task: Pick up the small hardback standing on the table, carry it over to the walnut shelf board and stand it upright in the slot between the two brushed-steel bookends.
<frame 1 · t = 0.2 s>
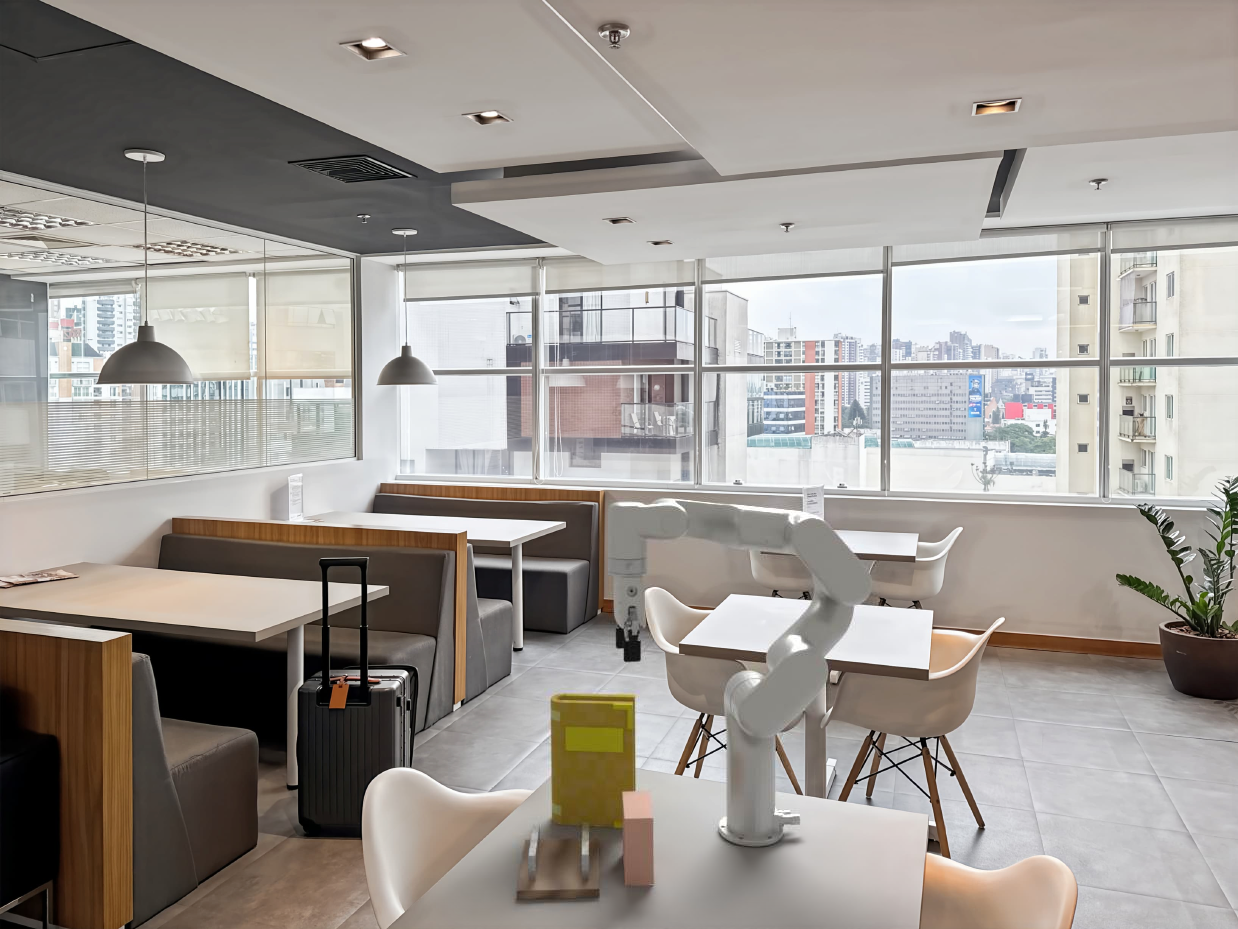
hand: (627, 654, 165), 36 cm above the table, tool pointing down, fingers open, 9 cm apart
bookends: (560, 850, 155), on the shelf board, point 4 cm above the table
small book: (637, 869, 155), on the table
shelf board: (560, 870, 155), on the table
book: (593, 820, 175), on the table
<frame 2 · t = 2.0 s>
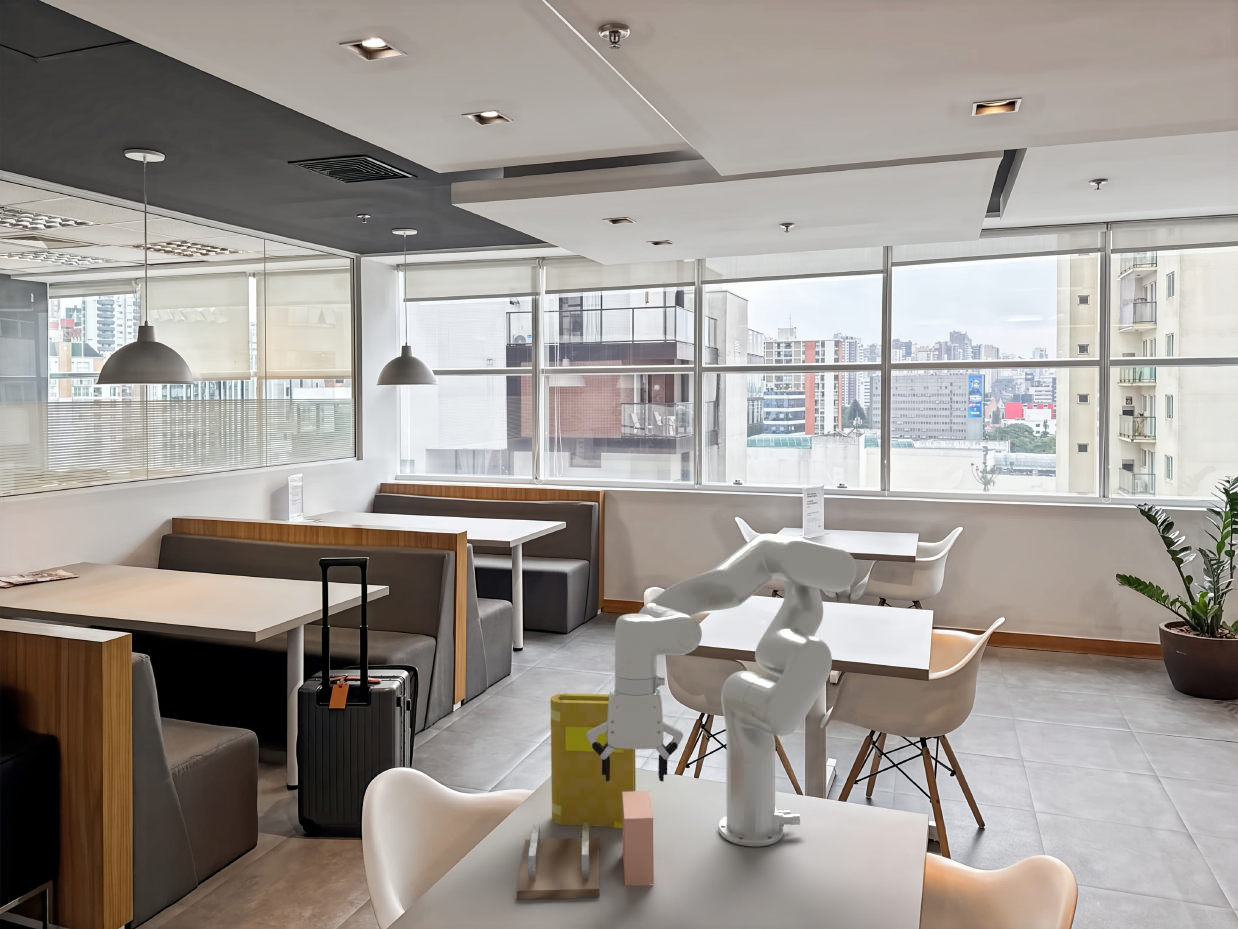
hand: (634, 778, 154), 17 cm above the table, tool pointing down, fingers open, 9 cm apart
nothing on the table moved.
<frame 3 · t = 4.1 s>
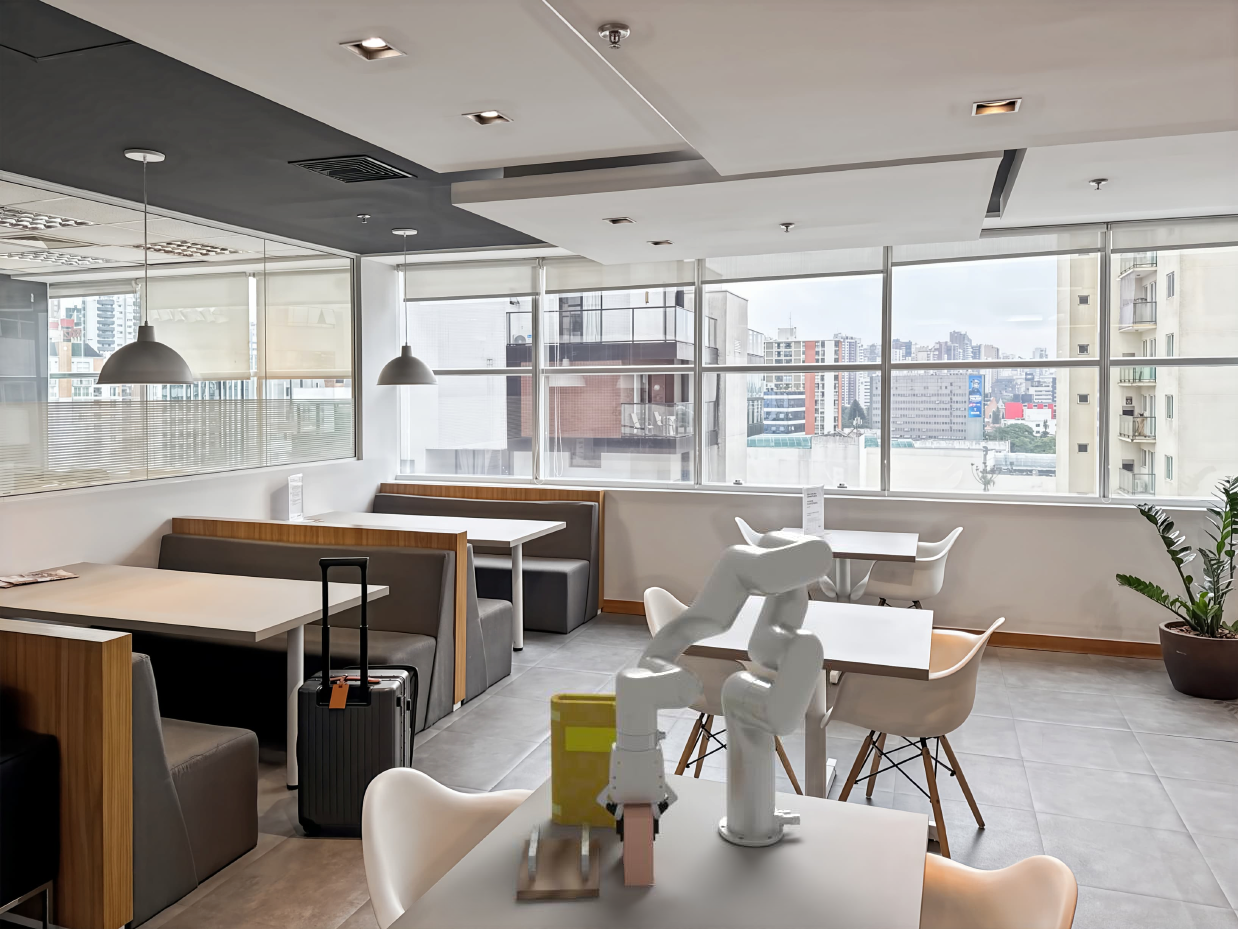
hand: (637, 836, 155), 6 cm above the table, tool pointing down, fingers closed on small book, 5 cm apart
small book: (637, 869, 155), on the table, touching gripper
everything else where it was.
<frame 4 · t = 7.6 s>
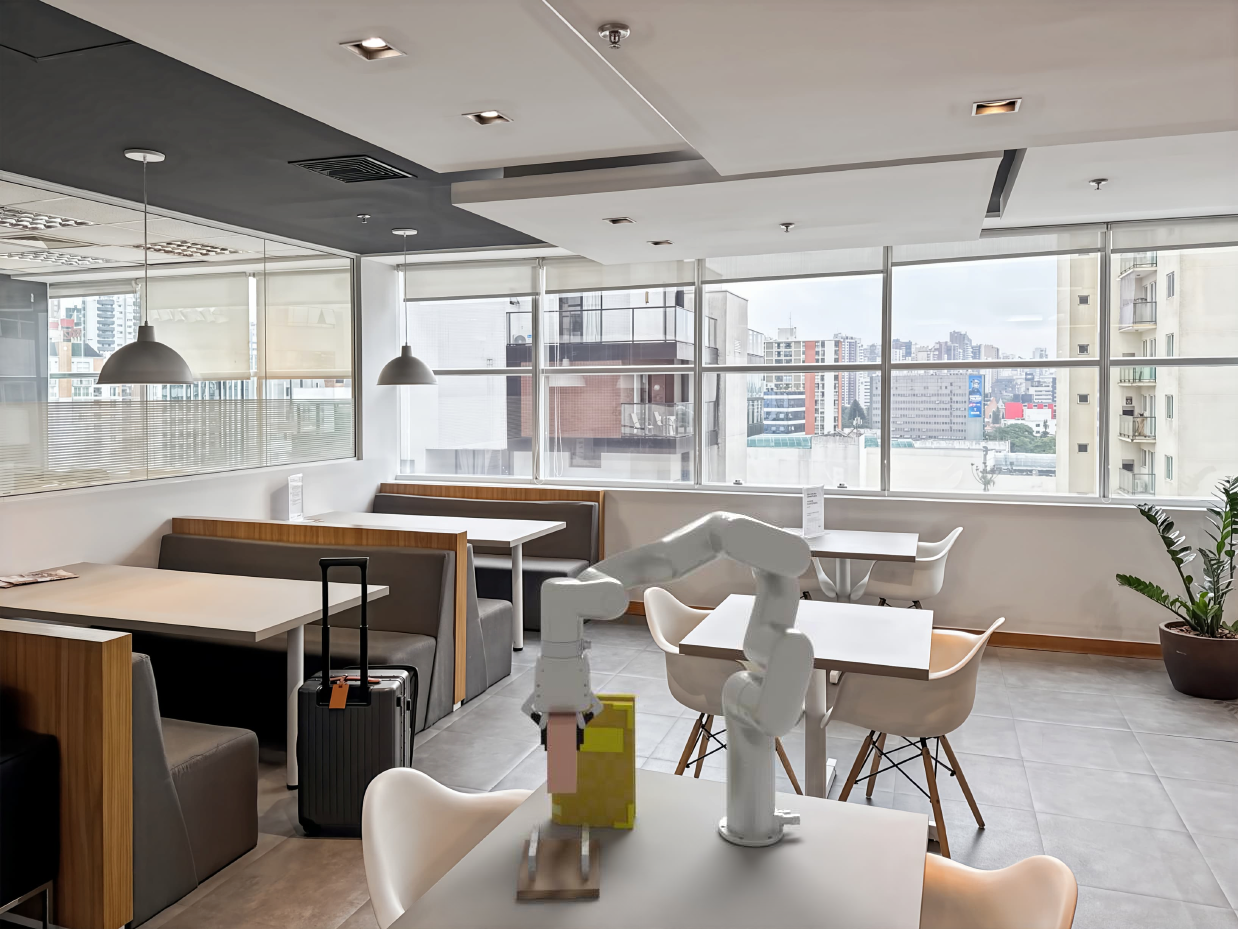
hand: (562, 747, 154), 23 cm above the table, tool pointing down, fingers closed on small book, 5 cm apart
small book: (562, 780, 154), point 17 cm above the table, touching gripper
everything else where it was.
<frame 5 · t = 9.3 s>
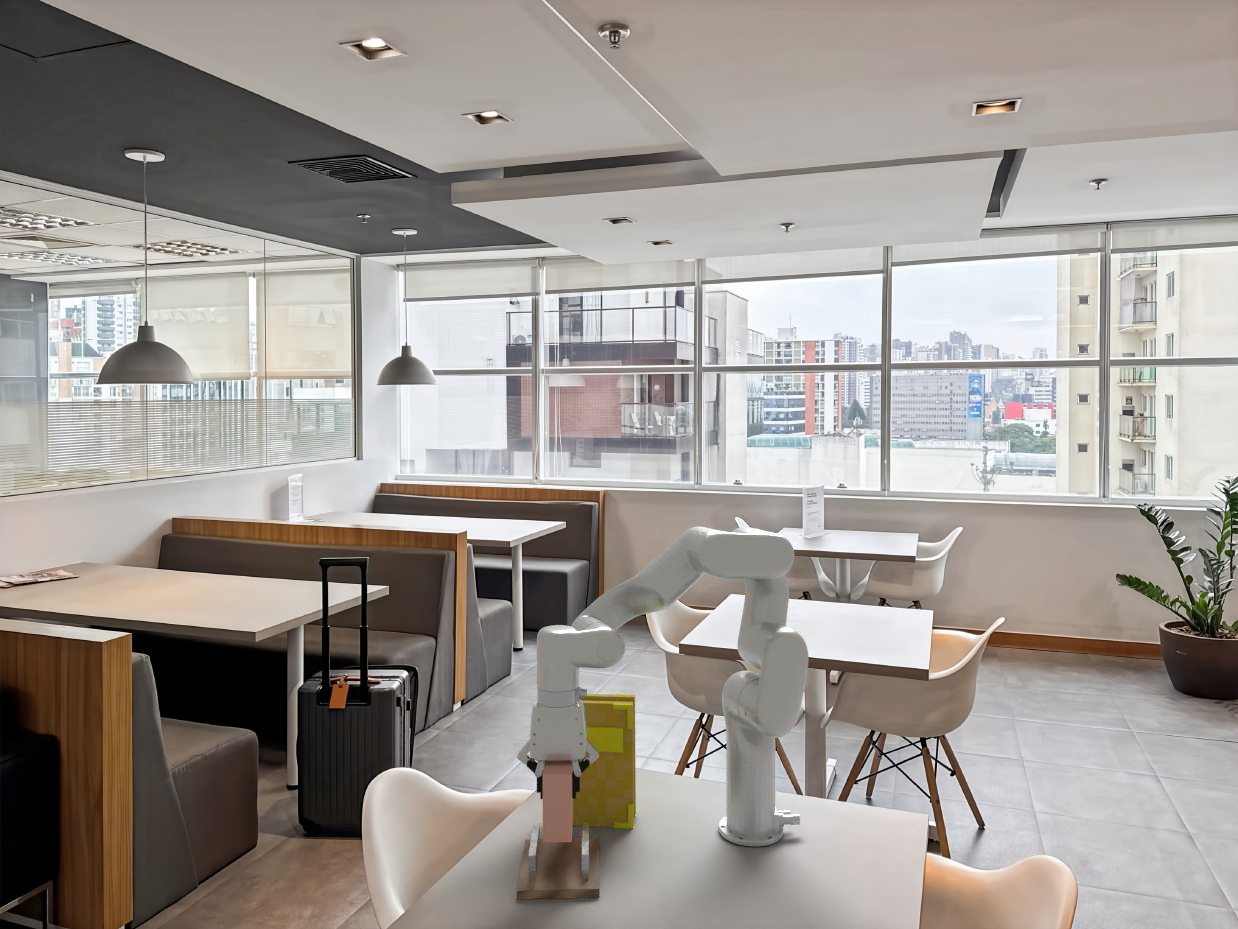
hand: (558, 794, 154), 14 cm above the table, tool pointing down, fingers closed on small book, 5 cm apart
small book: (558, 827, 154), point 8 cm above the table, touching gripper
everything else where it was.
when the fingers open (9 cm above the table, at t = 11.0 s): small book drops 2 cm, resting on shelf board.
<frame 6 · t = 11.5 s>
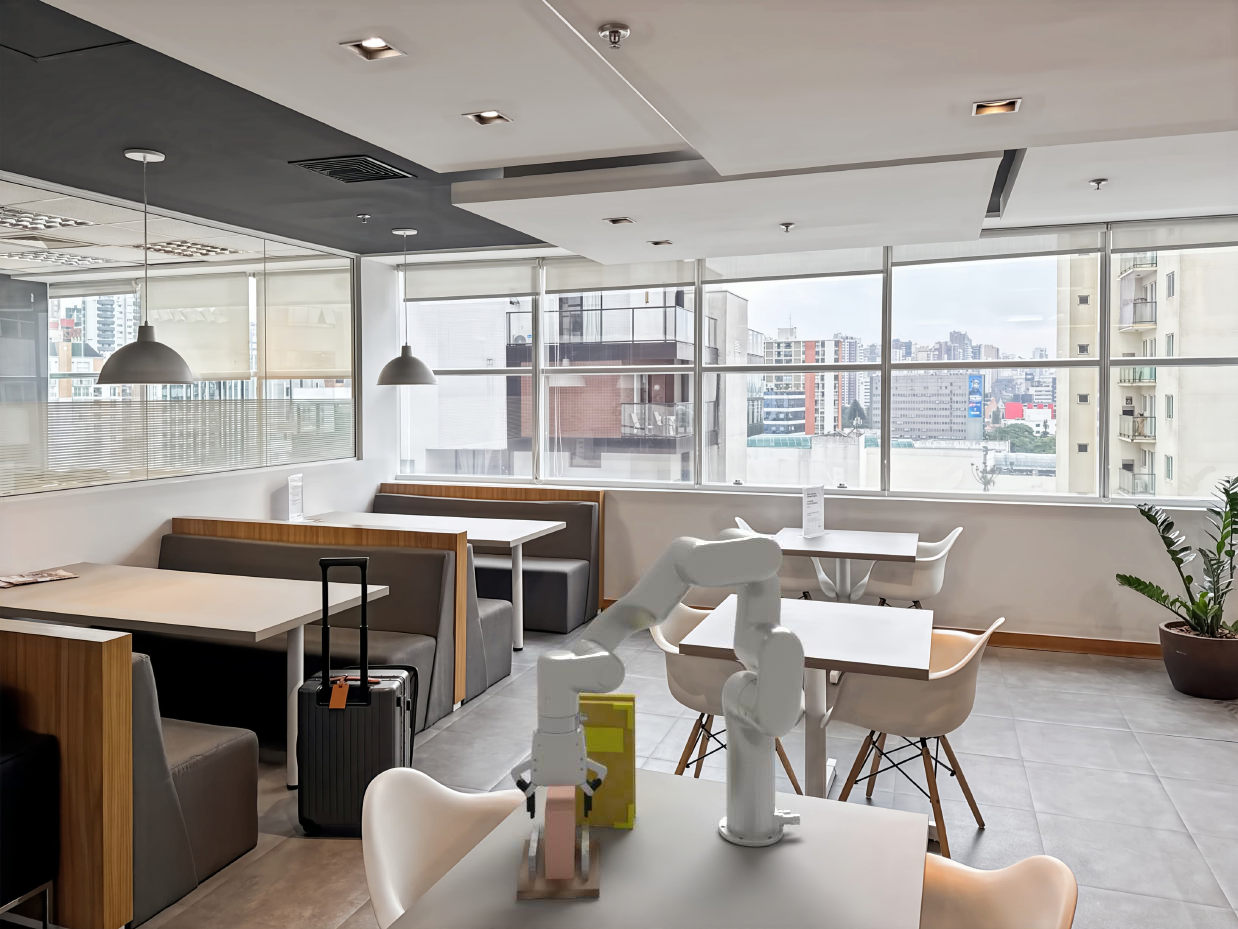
hand: (559, 814, 154), 10 cm above the table, tool pointing down, fingers open, 9 cm apart
small book: (561, 862, 155), point 1 cm above the table, touching shelf board
everything else where it was.
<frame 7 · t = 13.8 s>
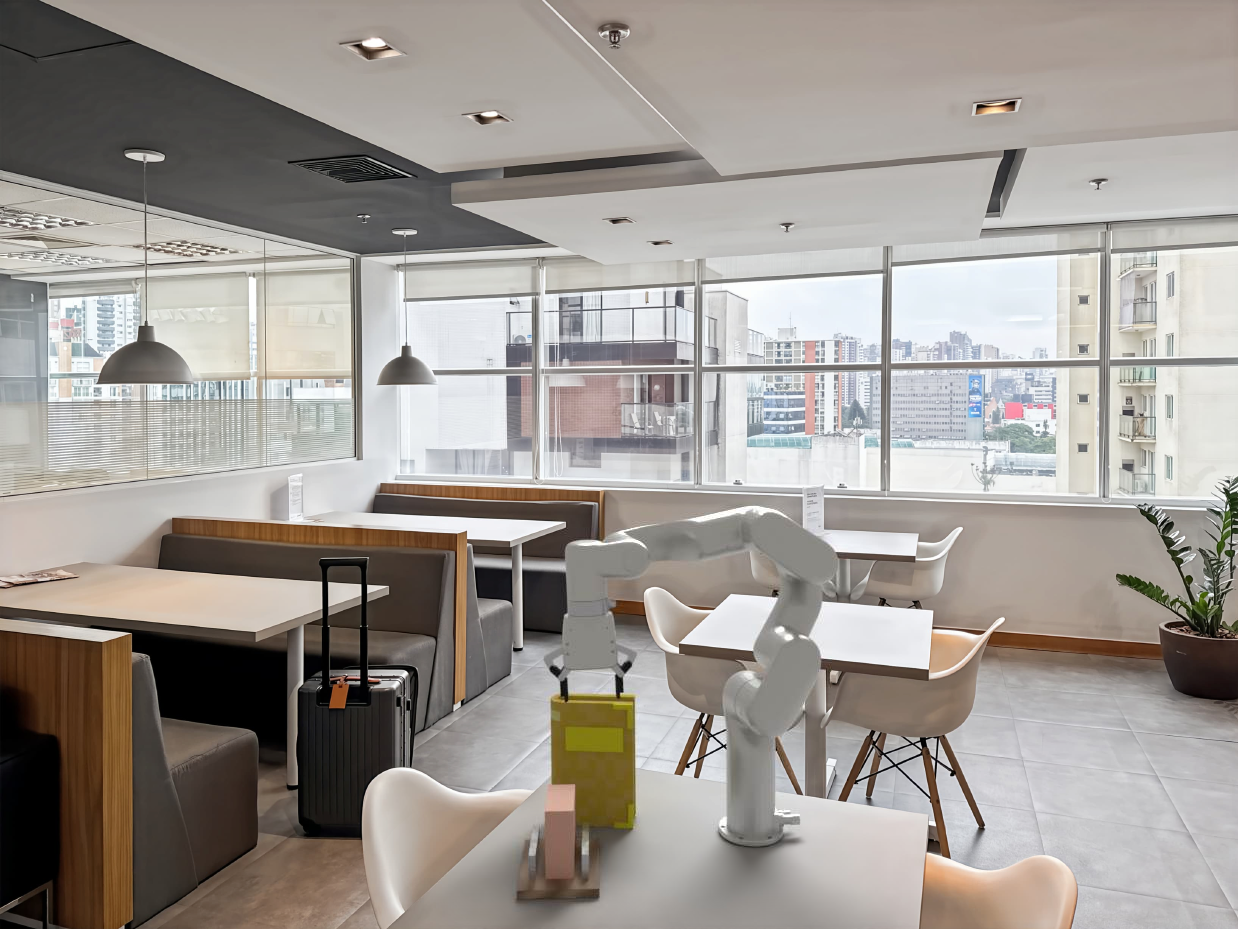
hand: (592, 698, 159), 30 cm above the table, tool pointing down, fingers open, 9 cm apart
nothing on the table moved.
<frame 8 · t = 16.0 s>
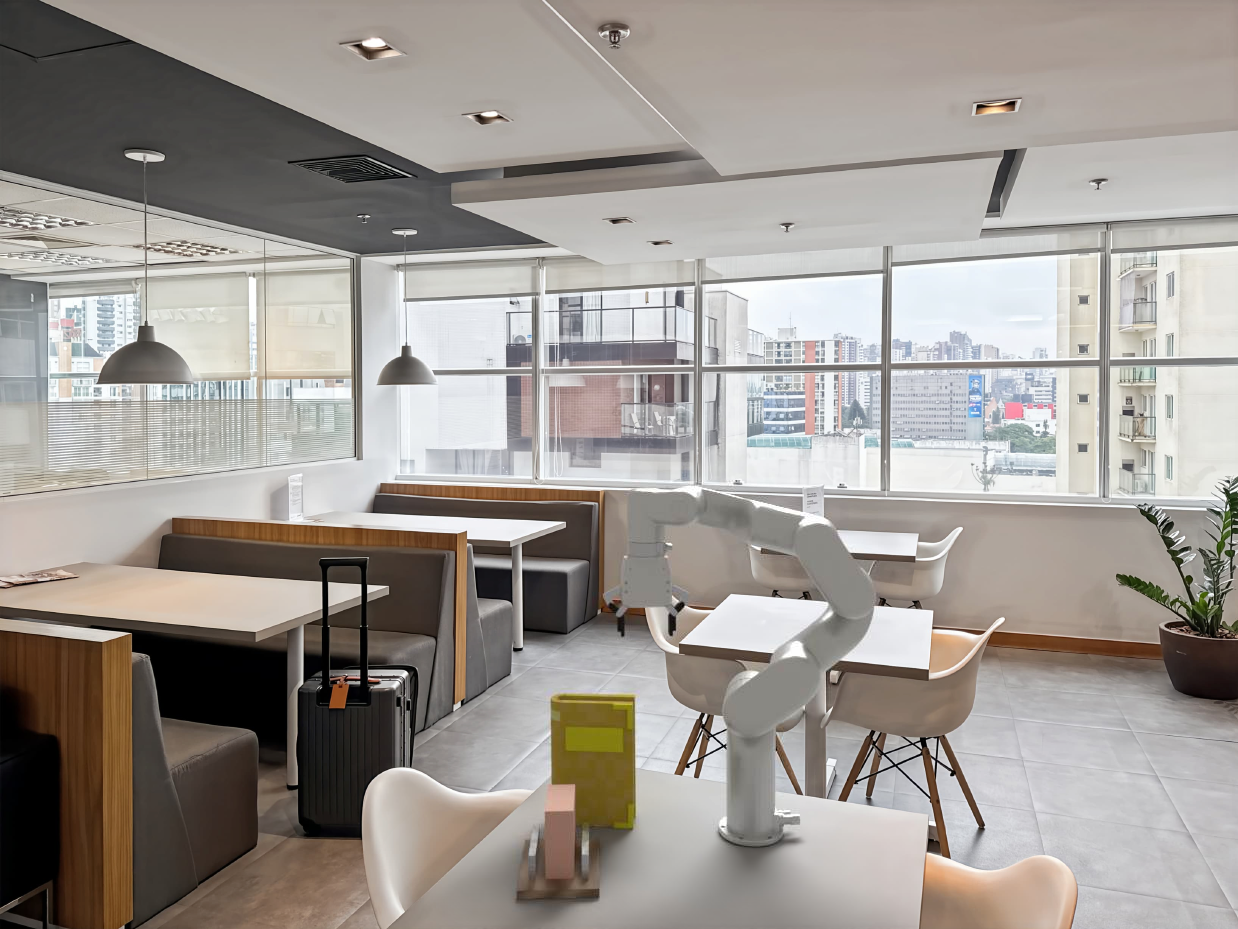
hand: (646, 635, 171), 38 cm above the table, tool pointing down, fingers open, 9 cm apart
nothing on the table moved.
at the end: small book 0.2 cm off-centre on the shelf board, point 1.5 cm above the shelf board's base; small book tilted 0°; the gripper is holding nothing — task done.
